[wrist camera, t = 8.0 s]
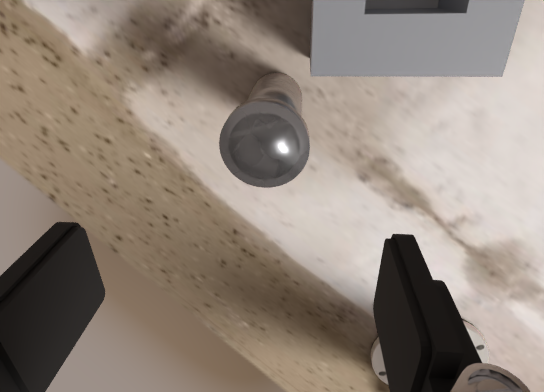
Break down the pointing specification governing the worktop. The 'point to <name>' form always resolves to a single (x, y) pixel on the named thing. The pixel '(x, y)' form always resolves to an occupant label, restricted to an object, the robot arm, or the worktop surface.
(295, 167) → the grey capped cylinder
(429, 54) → the block
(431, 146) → the worktop surface
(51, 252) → the robot arm
